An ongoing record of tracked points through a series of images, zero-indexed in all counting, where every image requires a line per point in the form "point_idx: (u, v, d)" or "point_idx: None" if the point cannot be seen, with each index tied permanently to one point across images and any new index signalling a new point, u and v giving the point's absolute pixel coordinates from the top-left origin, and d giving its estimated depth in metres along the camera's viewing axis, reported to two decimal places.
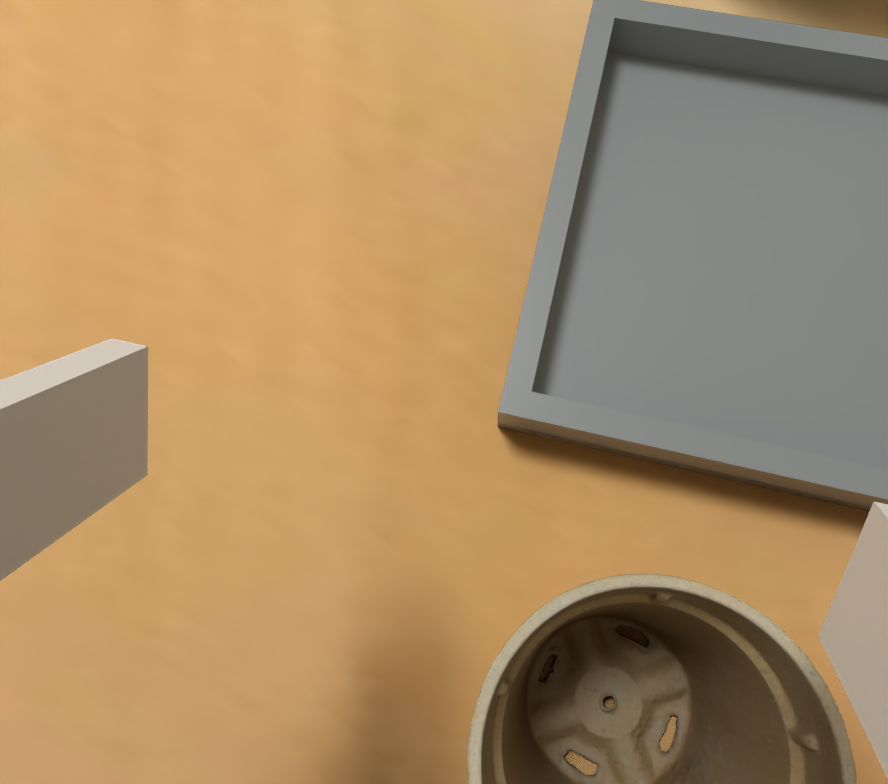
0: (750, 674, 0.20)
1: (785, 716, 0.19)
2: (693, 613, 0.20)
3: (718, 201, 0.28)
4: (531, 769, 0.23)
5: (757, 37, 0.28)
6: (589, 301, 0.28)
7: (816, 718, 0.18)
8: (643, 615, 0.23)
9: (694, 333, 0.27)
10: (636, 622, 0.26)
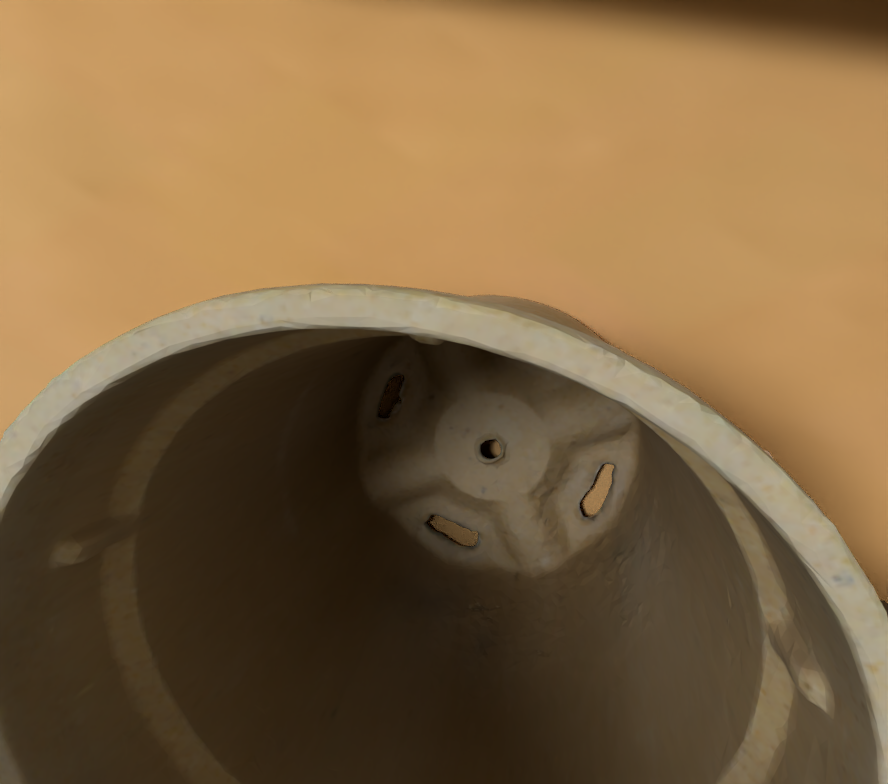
0: (699, 483, 0.08)
1: (765, 597, 0.07)
2: None
3: None
4: (326, 576, 0.13)
5: None
6: None
7: (834, 658, 0.06)
8: None
9: None
10: None
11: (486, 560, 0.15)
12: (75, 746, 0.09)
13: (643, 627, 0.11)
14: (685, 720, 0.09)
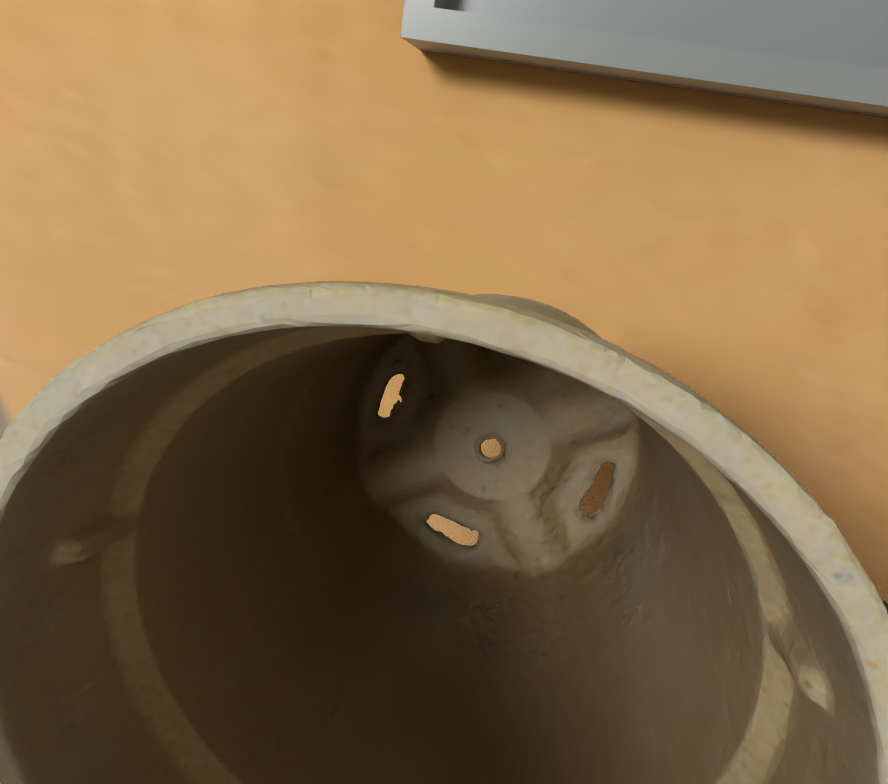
0: (699, 481, 0.08)
1: (765, 594, 0.07)
2: None
3: None
4: (327, 575, 0.13)
5: None
6: None
7: (836, 658, 0.06)
8: None
9: None
10: None
11: (486, 559, 0.15)
12: (75, 746, 0.09)
13: (644, 625, 0.11)
14: (685, 719, 0.09)
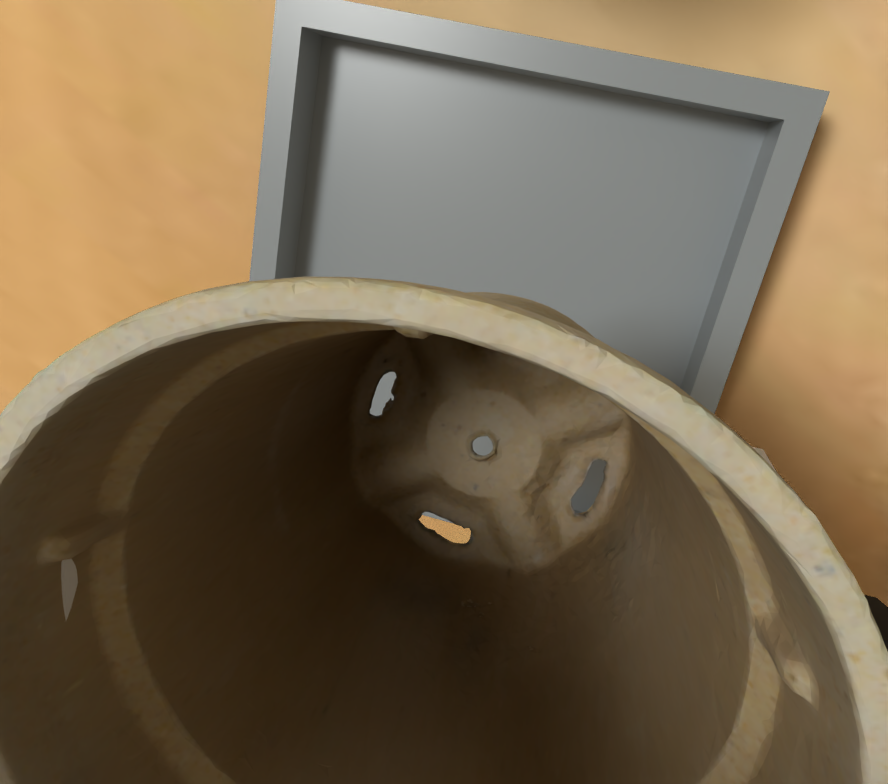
0: (686, 477, 0.08)
1: (751, 588, 0.07)
2: None
3: (442, 235, 0.27)
4: (318, 573, 0.13)
5: (464, 54, 0.23)
6: None
7: (818, 651, 0.06)
8: None
9: None
10: None
11: (478, 557, 0.15)
12: (64, 743, 0.09)
13: (634, 622, 0.11)
14: (675, 713, 0.09)
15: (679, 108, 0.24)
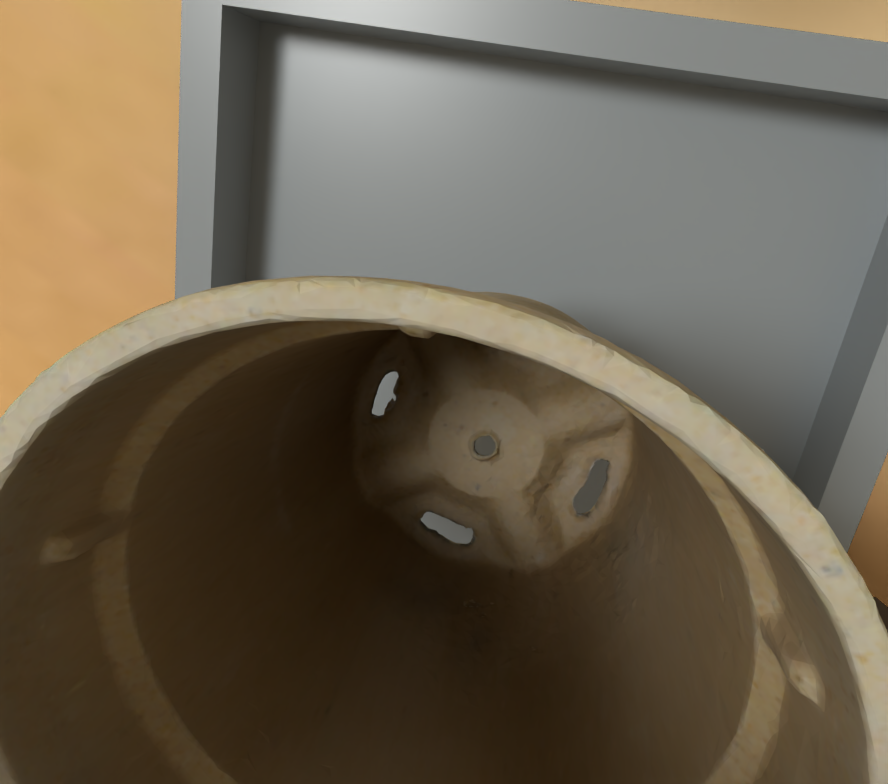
0: (691, 477, 0.08)
1: (756, 590, 0.07)
2: None
3: None
4: (320, 573, 0.13)
5: (464, 33, 0.15)
6: None
7: (824, 650, 0.06)
8: None
9: None
10: None
11: (480, 557, 0.15)
12: (66, 744, 0.09)
13: (637, 622, 0.11)
14: (678, 714, 0.09)
15: (784, 101, 0.16)
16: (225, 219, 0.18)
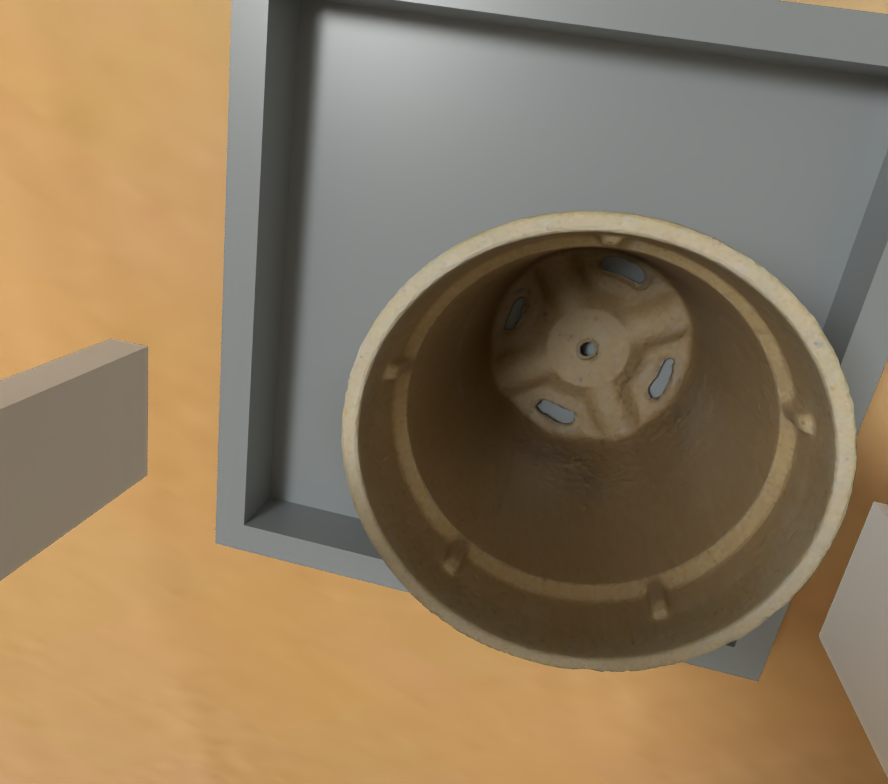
0: (744, 331, 0.14)
1: (780, 387, 0.14)
2: (663, 257, 0.13)
3: None
4: (481, 430, 0.20)
5: (491, 8, 0.17)
6: (318, 388, 0.23)
7: (816, 398, 0.12)
8: (622, 249, 0.17)
9: None
10: (627, 252, 0.19)
11: (579, 432, 0.22)
12: (381, 490, 0.15)
13: (700, 450, 0.18)
14: (731, 485, 0.16)
15: (784, 68, 0.18)
16: (269, 182, 0.20)
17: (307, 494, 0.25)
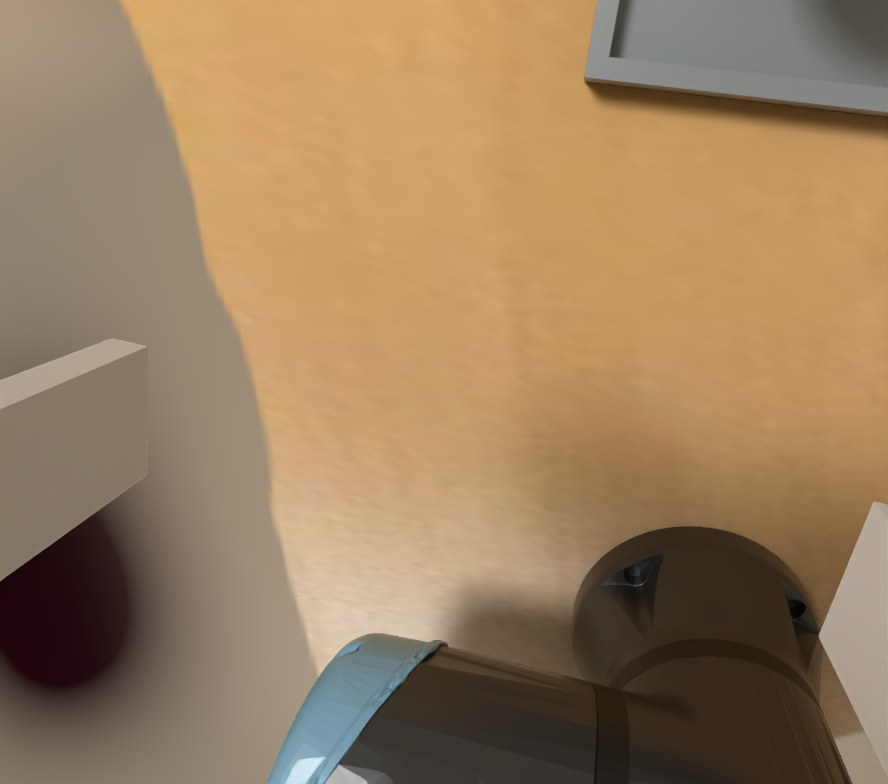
0: None
1: None
2: None
3: None
4: None
5: None
6: None
7: None
8: None
9: None
10: None
11: None
12: None
13: None
14: None
15: None
16: None
17: (638, 54, 0.35)
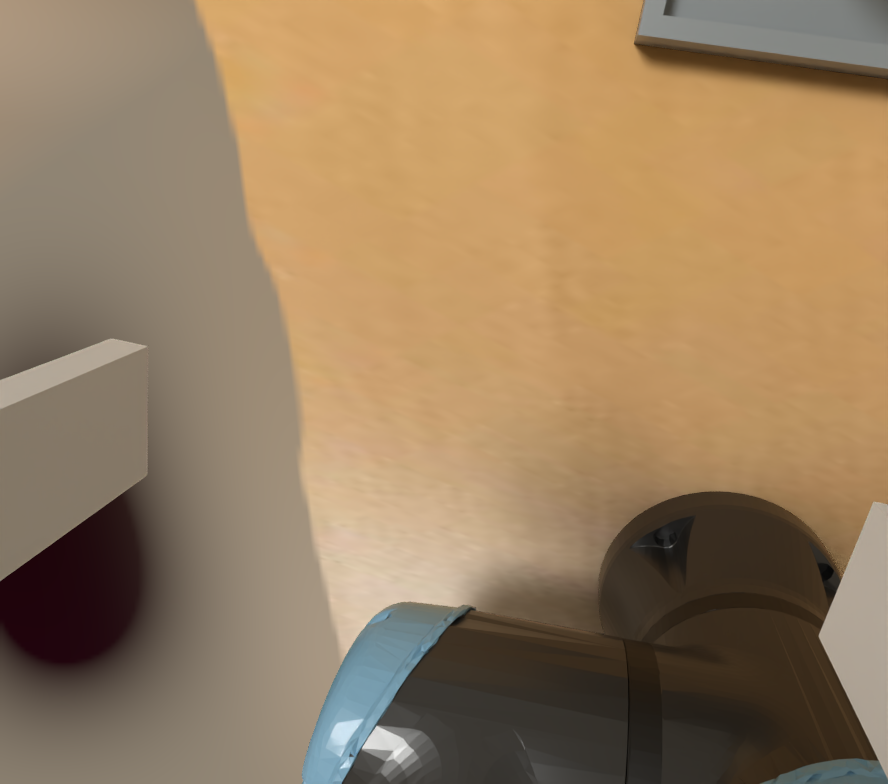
0: None
1: None
2: None
3: None
4: None
5: None
6: None
7: None
8: None
9: None
10: None
11: None
12: None
13: None
14: None
15: None
16: None
17: (689, 16, 0.36)
